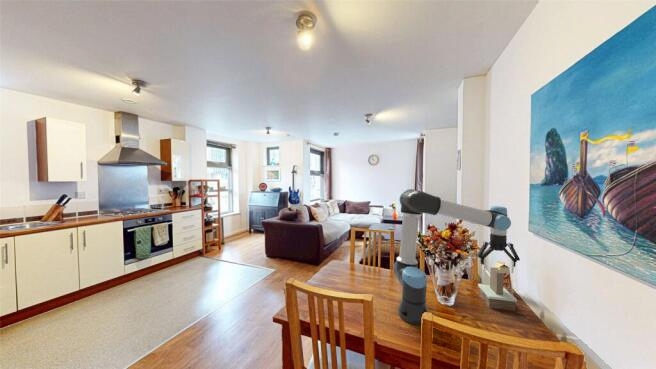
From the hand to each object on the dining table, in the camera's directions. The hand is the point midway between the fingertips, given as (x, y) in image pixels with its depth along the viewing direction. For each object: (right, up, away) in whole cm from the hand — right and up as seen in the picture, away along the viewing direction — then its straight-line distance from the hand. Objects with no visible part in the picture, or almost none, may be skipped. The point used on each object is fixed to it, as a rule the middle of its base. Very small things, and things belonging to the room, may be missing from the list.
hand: (497, 271), depth 129 cm
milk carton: (+12, -19, +13) cm, 26 cm away
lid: (0, -13, 0) cm, 13 cm away
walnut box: (0, -19, +1) cm, 19 cm away
